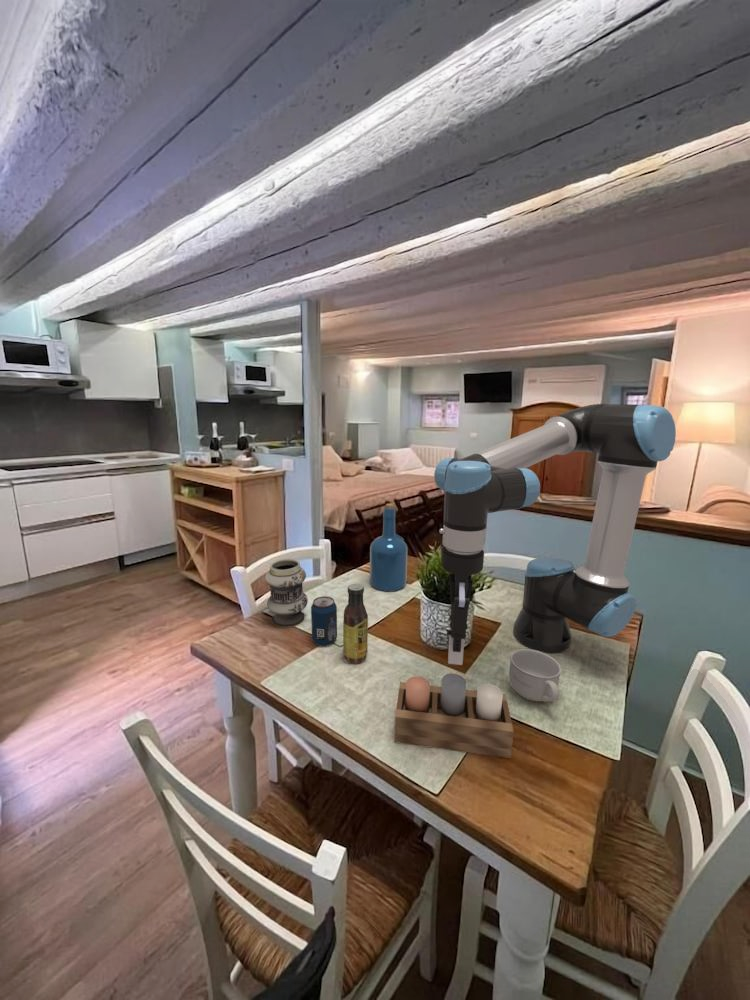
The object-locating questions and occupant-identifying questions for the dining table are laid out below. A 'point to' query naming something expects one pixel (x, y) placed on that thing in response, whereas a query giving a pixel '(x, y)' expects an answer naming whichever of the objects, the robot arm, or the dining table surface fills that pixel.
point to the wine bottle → (388, 556)
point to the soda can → (324, 621)
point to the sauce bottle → (355, 626)
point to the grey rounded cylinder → (453, 694)
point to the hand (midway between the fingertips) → (455, 661)
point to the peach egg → (417, 694)
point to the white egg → (488, 703)
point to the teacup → (534, 675)
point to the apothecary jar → (286, 593)
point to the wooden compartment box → (453, 726)
